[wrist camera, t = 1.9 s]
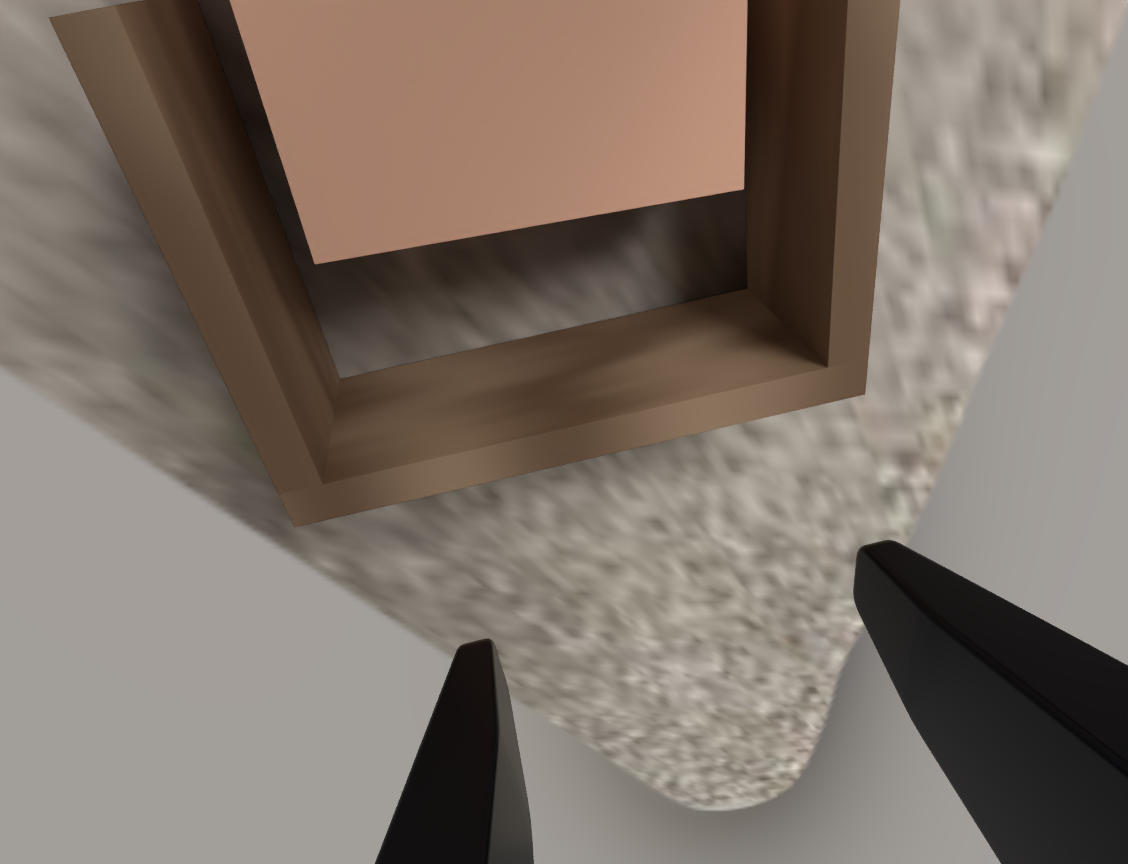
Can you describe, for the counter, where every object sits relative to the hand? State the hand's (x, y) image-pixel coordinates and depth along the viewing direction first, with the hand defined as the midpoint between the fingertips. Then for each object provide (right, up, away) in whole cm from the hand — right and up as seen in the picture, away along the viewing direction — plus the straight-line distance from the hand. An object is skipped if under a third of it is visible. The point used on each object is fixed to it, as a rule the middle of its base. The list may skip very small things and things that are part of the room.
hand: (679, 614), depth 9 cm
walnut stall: (-3, +9, +10) cm, 13 cm away
